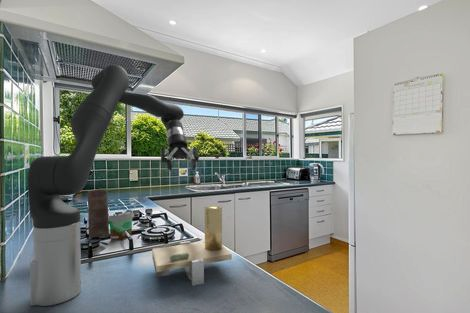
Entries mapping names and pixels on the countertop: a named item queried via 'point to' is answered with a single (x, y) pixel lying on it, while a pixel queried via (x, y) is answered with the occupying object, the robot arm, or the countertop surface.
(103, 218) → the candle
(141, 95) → the robot arm
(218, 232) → the cylinder
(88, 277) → the countertop surface
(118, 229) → the food container
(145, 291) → the countertop surface
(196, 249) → the tilting board
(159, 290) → the countertop surface
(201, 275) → the board stand
